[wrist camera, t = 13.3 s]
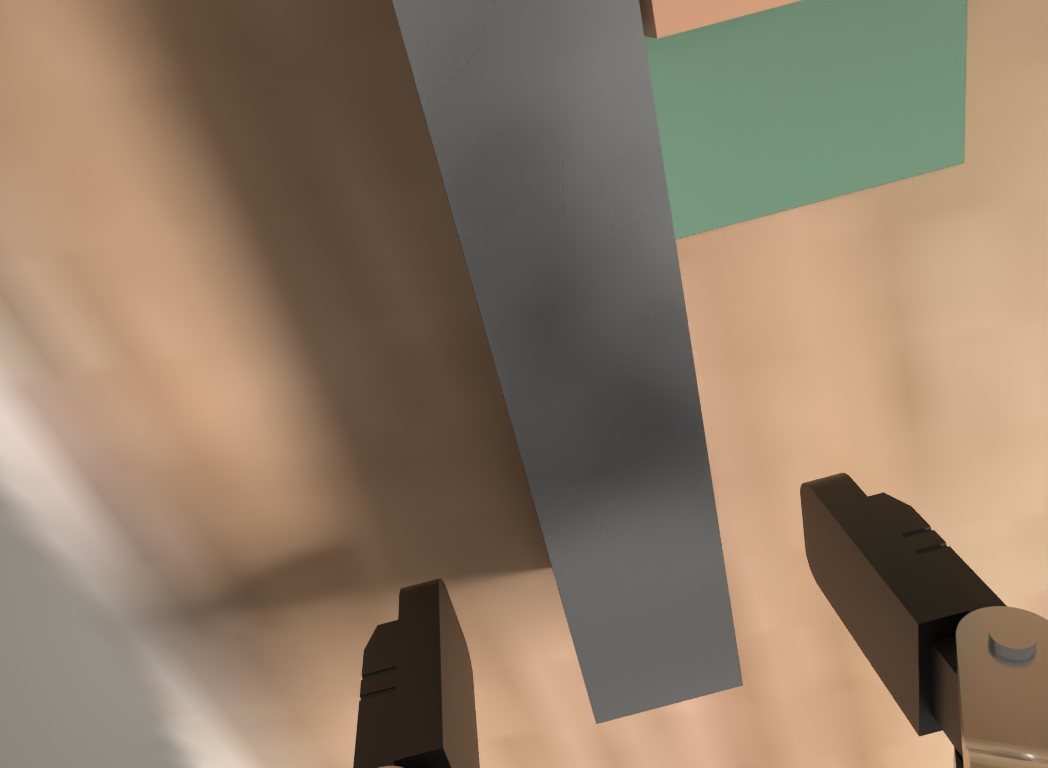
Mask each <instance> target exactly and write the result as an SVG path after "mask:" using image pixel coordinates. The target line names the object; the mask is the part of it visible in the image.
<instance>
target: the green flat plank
mask: <svg viewBox="0 0 1048 768" xmlns="http://www.w3.org/2000/svg"><path fill="white" fill-rule="evenodd" d="M966 33H967V0H801V1H797V2H793V3H789V4H786V5H782V6H778V7H774V8H771V9H767V10H763V11H759V12H756V13H752V14H748V15H744V16H741V17H737V18H733V19H729V20H726V21H722V22H718V23H714V24H711V25H707V26H703V27H699V28H696V29H692V30H688V31H684V32H681V33H677V34H673V35H669V36H666V37H662V38H658V39H656V38H651V37H646V36H644V37H645V44H646V51H647V57H648V64H649V70H650V77H651V83H652V90H653V97H654V103H655V110H656V116H657V123H658V130H659V136H660V143H661V149H662V156H663V162H664V169H665V176H666V182H667V189H668V195H669V202H670V209H671V215H672V222H673V228H674V235H675V240H676V239H679V238H683V237H687V236H691V235H695V234H698V233H702V232H706V231H710V230H713V229H717V228H721V227H725V226H728V225H732V224H736V223H740V222H743V221H747V220H751V219H755V218H758V217H762V216H766V215H770V214H773V213H777V212H781V211H785V210H789V209H792V208H796V207H800V206H804V205H807V204H811V203H815V202H819V201H822V200H826V199H830V198H834V197H837V196H841V195H845V194H849V193H852V192H856V191H860V190H864V189H868V188H871V187H875V186H879V185H883V184H886V183H890V182H894V181H898V180H901V179H905V178H909V177H913V176H916V175H920V174H924V173H928V172H931V171H935V170H939V169H943V168H946V167H950V166H954V165H958V164H962V163H964V142H965V87H966Z"/></svg>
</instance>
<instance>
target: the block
mask: <svg viewBox="0 0 1048 768" xmlns="http://www.w3.org/2000/svg"><path fill="white" fill-rule="evenodd" d="M797 1H801V0H639V4H640V11H641V18H642V24H643V31H644V36H646V37H651V38H656V39H658V38H662V37H666V36H669V35H673V34H677V33H681V32H684V31H688V30H692V29H696V28H699V27H703V26H707V25H711V24H714V23H718V22H722V21H726V20H729V19H733V18H737V17H741V16H744V15H748V14H752V13H756V12H759V11H763V10H767V9H771V8H774V7H778V6H782V5H786V4H789V3H793V2H797Z"/></svg>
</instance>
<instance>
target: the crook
mask: <svg viewBox="0 0 1048 768" xmlns="http://www.w3.org/2000/svg"><path fill="white" fill-rule="evenodd" d="M392 2H393V6H394V9H395V13H396V16H397V20H398V23H399V27H400V30H401V34H402V38H403V41H404V45H405V48H406V52H407V55H408V59H409V62H410V66H411V69H412V73H413V76H414V80H415V84H416V87H417V91H418V94H419V98H420V101H421V105H422V108H423V112H424V115H425V119H426V123H427V126H428V130H429V133H430V137H431V140H432V144H433V147H434V151H435V154H436V158H437V161H438V165H439V169H440V172H441V176H442V179H443V183H444V186H445V190H446V193H447V197H448V200H449V204H450V207H451V211H452V215H453V218H454V222H455V225H456V229H457V232H458V236H459V239H460V243H461V246H462V250H463V254H464V257H465V261H466V264H467V268H468V271H469V275H470V278H471V282H472V285H473V289H474V292H475V296H476V300H477V303H478V307H479V310H480V314H481V317H482V321H483V324H484V328H485V331H486V335H487V339H488V342H489V346H490V349H491V353H492V356H493V360H494V363H495V367H496V370H497V374H498V377H499V381H500V385H501V388H502V392H503V395H504V399H505V402H506V406H507V409H508V413H509V416H510V420H511V423H512V427H513V431H514V434H515V438H516V441H517V445H518V448H519V452H520V455H521V459H522V462H523V466H524V470H525V473H526V477H527V480H528V484H529V487H530V491H531V494H532V498H533V501H534V505H535V508H536V512H537V516H538V519H539V523H540V526H541V530H542V533H543V537H544V540H545V544H546V547H547V551H548V555H549V558H550V562H551V565H552V569H553V572H554V576H555V579H556V583H557V586H558V590H559V593H560V597H561V601H562V604H563V608H564V611H565V615H566V618H567V622H568V625H569V629H570V632H571V636H572V639H573V643H574V647H575V650H576V654H577V657H578V661H579V664H580V668H581V671H582V675H583V678H584V682H585V686H586V689H587V693H588V696H589V700H590V703H591V707H592V710H593V714H594V717H595V721H596V724H598V723H602V722H606V721H610V720H613V719H617V718H621V717H625V716H629V715H632V714H636V713H640V712H644V711H648V710H651V709H655V708H659V707H663V706H667V705H670V704H674V703H678V702H682V701H685V700H689V699H693V698H697V697H701V696H704V695H708V694H712V693H716V692H720V691H723V690H727V689H731V688H735V687H739V686H742V685H743V683H742V676H741V670H740V663H739V656H738V650H737V643H736V637H735V630H734V623H733V617H732V610H731V604H730V597H729V591H728V584H727V577H726V571H725V564H724V558H723V551H722V544H721V538H720V531H719V525H718V518H717V511H716V505H715V498H714V492H713V485H712V479H711V472H710V465H709V459H708V452H707V446H706V439H705V432H704V426H703V419H702V413H701V406H700V400H699V393H698V386H697V380H696V373H695V367H694V360H693V353H692V347H691V340H690V334H689V327H688V321H687V314H686V307H685V301H684V294H683V288H682V281H681V274H680V268H679V261H678V255H677V248H676V241H675V235H674V228H673V222H672V215H671V209H670V202H669V195H668V189H667V182H666V176H665V169H664V162H663V156H662V149H661V143H660V136H659V130H658V123H657V116H656V110H655V103H654V97H653V90H652V83H651V77H650V70H649V64H648V57H647V51H646V44H645V37H644V31H643V24H642V18H641V11H640V4H639V0H392Z"/></svg>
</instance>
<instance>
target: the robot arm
mask: <svg viewBox="0 0 1048 768" xmlns="http://www.w3.org/2000/svg"><path fill="white" fill-rule="evenodd" d="M800 496H801V506H802V517H803V528H804V539H805V549H806V555H807V559H808V563H809V566H810V569H811V572H812V574H813V576H814V578H815V581H816V582H817V584H818V586H819V587H820V589H821V590H822V592H823V593H824V595H825V596H826V598H827V599H828V601H829V602H830V604H831V605H832V607H833V608H834V610H835V611H836V613H837V614H838V616H839V617H840V619H841V620H842V622H843V623H844V625H845V626H846V628H847V629H848V631H849V632H850V634H851V635H852V637H853V638H854V640H855V641H856V643H857V644H858V646H859V647H860V649H861V650H862V652H863V653H864V655H865V656H866V658H867V659H868V661H869V662H870V664H871V665H872V667H873V668H874V670H875V671H876V673H877V674H878V676H879V677H880V679H881V680H882V682H883V683H884V684H885V686H886V687H887V689H888V690H889V692H890V693H891V695H892V696H893V698H894V699H895V701H896V702H897V704H898V705H899V707H900V708H901V710H902V711H903V713H904V714H905V716H906V717H907V719H908V720H909V722H910V723H911V725H912V726H913V728H914V729H915V731H916V732H917V734H918V735H919V736H923V735H926V734H930V733H934V732H938V731H942V730H943V731H944V733H945V734H946V735H947V737H948V738H949V740H950V741H951V742H952V744H953V745H954V768H1048V620H1047V619H1045V618H1043V617H1041V616H1039V615H1037V614H1035V613H1032V612H1029V611H1027V610H1023V609H1019V608H1014V607H1007V606H1006V605H1005V604H1004V603H1003V602H1002V601H1001V600H1000V599H999V598H998V597H997V595H996V594H995V593H994V592H993V591H992V590H991V589H990V588H989V587H988V586H987V585H986V584H985V583H984V582H983V581H982V580H981V579H980V578H979V577H978V576H977V575H976V573H975V572H974V571H973V570H972V569H971V568H970V567H969V566H968V565H967V564H966V563H965V562H964V561H963V560H962V559H961V558H960V557H959V556H958V555H957V554H956V553H955V552H954V550H953V549H952V548H951V547H950V546H949V547H947V545H946V542H945V541H944V540H943V539H942V538H941V537H940V536H939V535H938V534H937V533H936V532H935V531H934V530H933V531H932V530H931V527H930V525H929V524H928V523H927V522H926V521H925V520H924V519H923V518H922V517H921V516H920V515H919V514H918V513H917V512H916V511H915V510H914V509H913V508H912V507H911V506H909V505H907V504H905V503H903V502H901V501H899V500H897V499H895V498H893V497H891V496H889V495H887V494H885V493H880V494H876V495H872V496H869V497H867V495H866V494H865V493H864V492H863V491H862V490H861V489H860V488H859V486H858V485H857V484H856V483H855V482H854V481H853V480H852V479H851V477H850V476H849V475H847V474H846V473H840V474H836V475H832V476H828V477H825V478H821V479H817V480H813V481H810V482H806V483H803V484H802V485H801V488H800ZM362 678H363V680H361V689H360V698H361V701H359V711H358V722H357V734H356V745H355V756H354V767H353V768H480V765H479V752H478V738H477V724H476V711H475V697H474V683H473V672H472V665H471V660H470V655H469V651H468V647H467V644H466V641H465V638H464V635H463V632H462V630H461V627H460V624H459V621H458V619H457V616H456V613H455V610H454V608H453V605H452V602H451V600H450V597H449V594H448V591H447V589H446V586H445V584H444V582H443V580H442V579H441V578H439V579H435V580H432V581H428V582H424V583H420V584H417V585H413V586H409V587H405V588H402V589H401V590H400V594H399V617H398V620H396V621H392V622H388V623H385V624H381V625H377V627H376V629H375V631H374V633H373V635H372V637H371V638H370V640H369V642H368V644H367V646H366V648H365V649H364V656H363V667H362Z"/></svg>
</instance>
